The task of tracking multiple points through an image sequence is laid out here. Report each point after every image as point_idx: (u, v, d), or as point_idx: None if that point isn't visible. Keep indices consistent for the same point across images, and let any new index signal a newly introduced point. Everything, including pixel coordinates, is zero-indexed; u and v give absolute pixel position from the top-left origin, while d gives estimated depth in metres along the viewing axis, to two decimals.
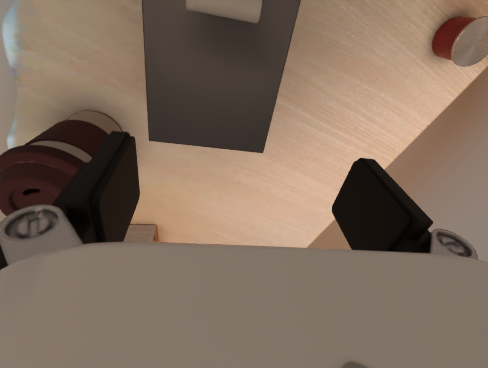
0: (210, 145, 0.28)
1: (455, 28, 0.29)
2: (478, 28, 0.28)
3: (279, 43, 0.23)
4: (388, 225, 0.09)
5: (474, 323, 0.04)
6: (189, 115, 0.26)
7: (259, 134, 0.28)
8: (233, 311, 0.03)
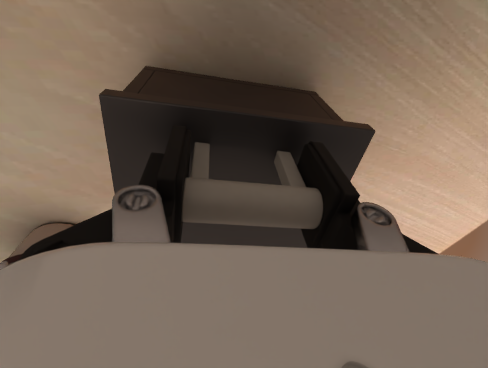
0: None
1: None
2: None
3: None
4: (324, 201, 0.09)
5: (474, 323, 0.04)
6: None
7: None
8: (234, 311, 0.03)
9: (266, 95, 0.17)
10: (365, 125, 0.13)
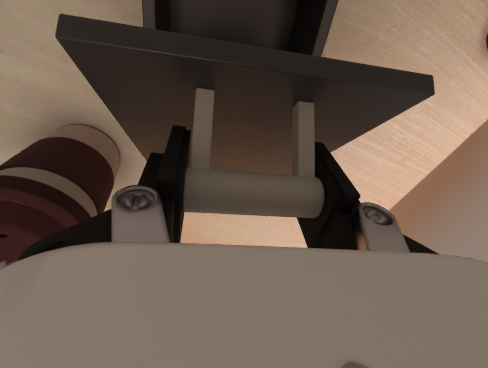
0: (225, 170, 0.23)
1: None
2: None
3: (346, 132, 0.13)
4: (325, 201, 0.09)
5: (474, 323, 0.04)
6: None
7: (288, 170, 0.22)
8: (234, 311, 0.03)
9: None
10: (427, 80, 0.09)
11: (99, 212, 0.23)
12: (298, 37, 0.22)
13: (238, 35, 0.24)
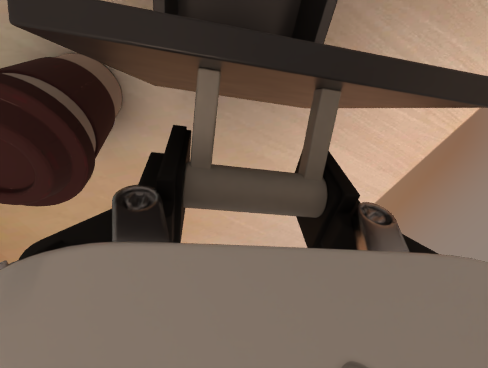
0: (236, 97, 0.21)
1: None
2: None
3: (376, 104, 0.11)
4: None
5: (474, 323, 0.04)
6: None
7: (305, 106, 0.20)
8: (234, 312, 0.03)
9: None
10: None
11: (98, 138, 0.21)
12: None
13: None
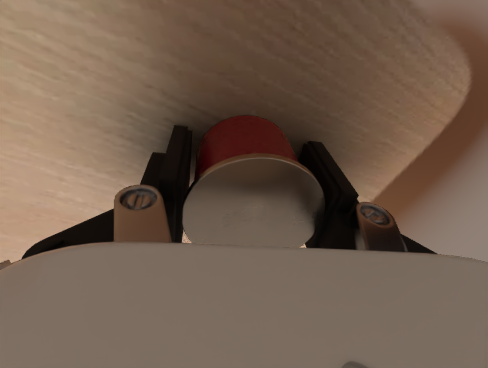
0: None
1: (200, 167, 0.09)
2: (238, 189, 0.08)
3: None
4: None
5: (474, 323, 0.04)
6: None
7: None
8: (234, 311, 0.03)
9: None
10: None
11: None
12: None
13: None
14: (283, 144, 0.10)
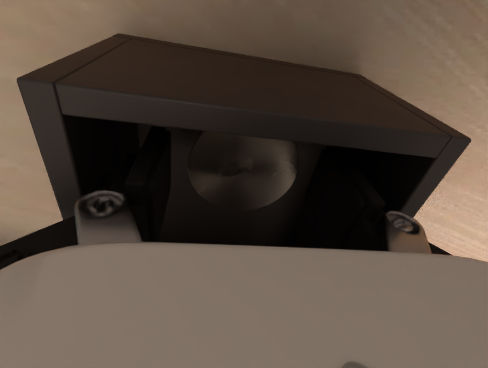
0: None
1: None
2: (231, 143, 0.11)
3: None
4: (347, 208, 0.09)
5: (474, 323, 0.04)
6: None
7: None
8: (234, 311, 0.03)
9: (298, 76, 0.11)
10: None
11: None
12: None
13: None
14: None
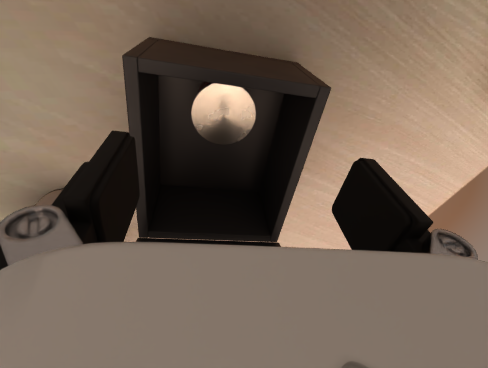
0: None
1: None
2: (215, 97, 0.19)
3: None
4: (388, 225, 0.09)
5: (474, 323, 0.04)
6: None
7: None
8: (233, 312, 0.03)
9: (254, 61, 0.20)
10: None
11: None
12: (287, 120, 0.22)
13: None
14: None
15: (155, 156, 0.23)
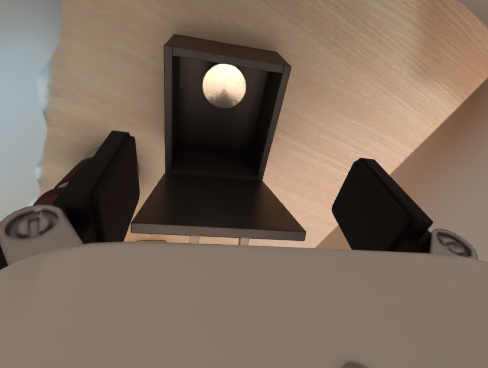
0: None
1: None
2: (218, 74, 0.29)
3: None
4: (388, 225, 0.09)
5: (474, 323, 0.04)
6: None
7: None
8: (233, 312, 0.03)
9: (244, 50, 0.29)
10: (302, 235, 0.19)
11: None
12: (268, 92, 0.32)
13: None
14: (234, 66, 0.30)
15: (176, 117, 0.33)
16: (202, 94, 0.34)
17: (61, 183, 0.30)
